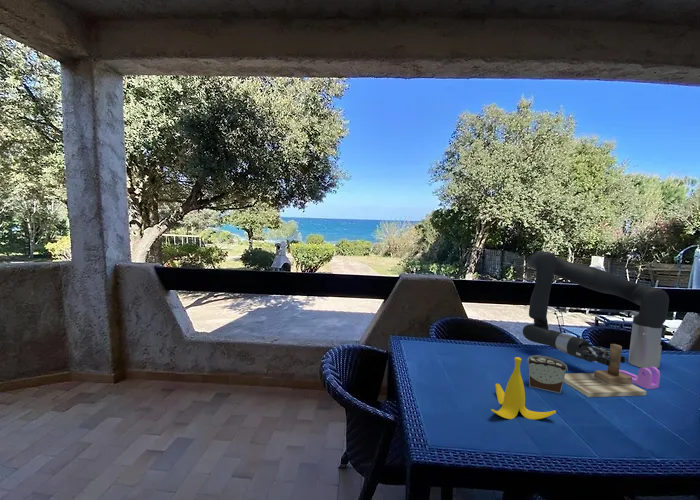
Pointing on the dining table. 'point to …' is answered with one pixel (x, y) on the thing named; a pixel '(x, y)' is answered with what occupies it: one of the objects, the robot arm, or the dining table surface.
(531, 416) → the banana peel
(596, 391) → the pine board
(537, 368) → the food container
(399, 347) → the dining table surface
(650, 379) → the bracket
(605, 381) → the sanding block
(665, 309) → the robot arm
